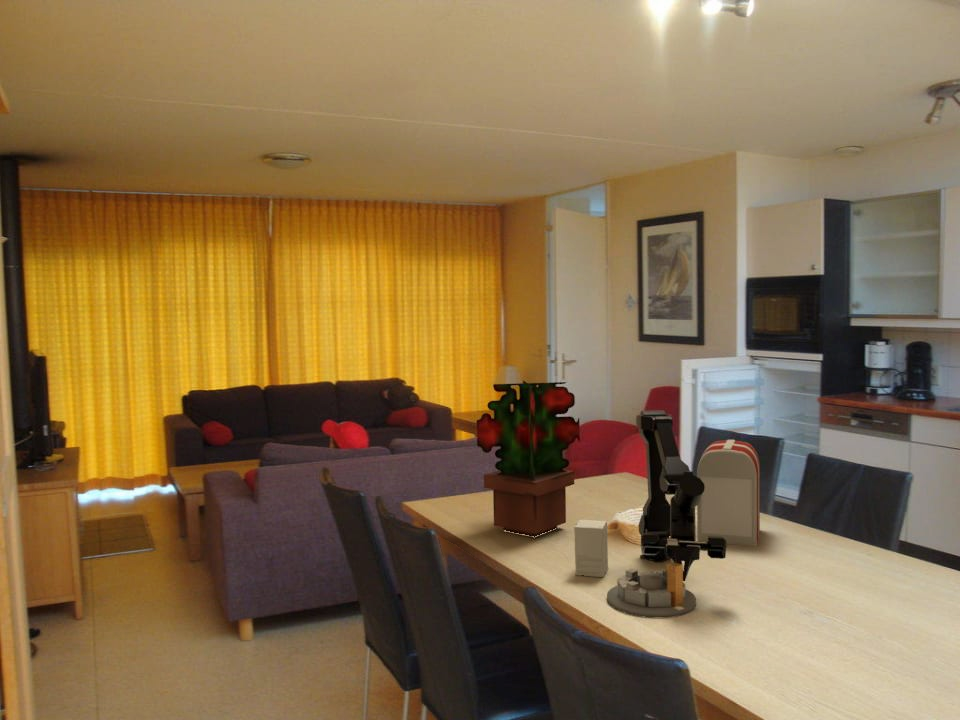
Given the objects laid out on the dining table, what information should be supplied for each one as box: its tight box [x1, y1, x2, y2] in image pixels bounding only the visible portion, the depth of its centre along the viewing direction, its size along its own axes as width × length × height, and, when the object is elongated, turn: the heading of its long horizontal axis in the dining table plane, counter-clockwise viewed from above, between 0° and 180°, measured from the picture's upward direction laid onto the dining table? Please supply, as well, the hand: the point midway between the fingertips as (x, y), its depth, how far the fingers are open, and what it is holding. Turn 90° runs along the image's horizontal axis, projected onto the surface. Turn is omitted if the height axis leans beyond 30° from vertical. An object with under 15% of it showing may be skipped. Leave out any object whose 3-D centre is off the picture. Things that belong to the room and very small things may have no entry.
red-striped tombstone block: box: [696, 439, 761, 547], centre depth 233 cm, size 16×18×27 cm
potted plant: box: [476, 380, 581, 537], centre depth 242 cm, size 22×22×45 cm
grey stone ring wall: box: [617, 561, 686, 607], centre depth 183 cm, size 15×14×9 cm
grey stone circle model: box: [606, 574, 697, 618], centre depth 183 cm, size 20×20×6 cm
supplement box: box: [573, 519, 609, 578], centre depth 203 cm, size 7×7×13 cm
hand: (683, 580), depth 177 cm, fingers closed
